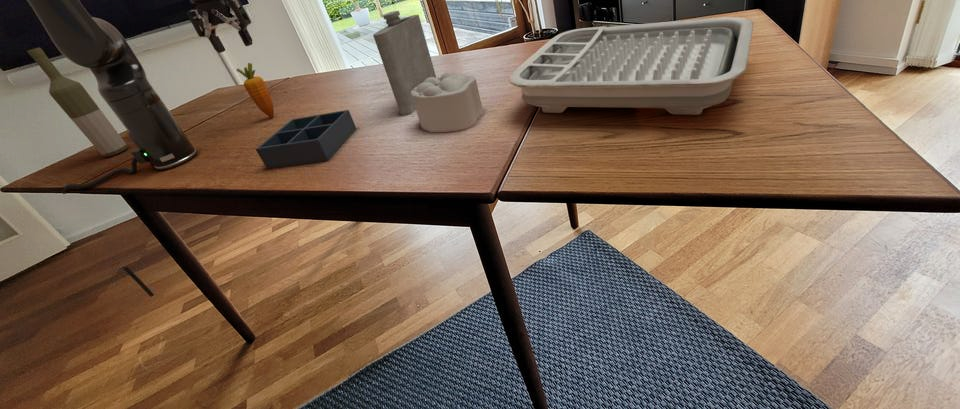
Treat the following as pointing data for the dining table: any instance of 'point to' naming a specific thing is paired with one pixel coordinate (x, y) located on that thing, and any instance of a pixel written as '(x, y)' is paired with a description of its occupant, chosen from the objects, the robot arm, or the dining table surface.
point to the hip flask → (404, 57)
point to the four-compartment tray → (307, 140)
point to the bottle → (80, 108)
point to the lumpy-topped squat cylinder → (447, 102)
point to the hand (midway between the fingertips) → (235, 48)
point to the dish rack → (638, 66)
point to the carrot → (258, 91)
